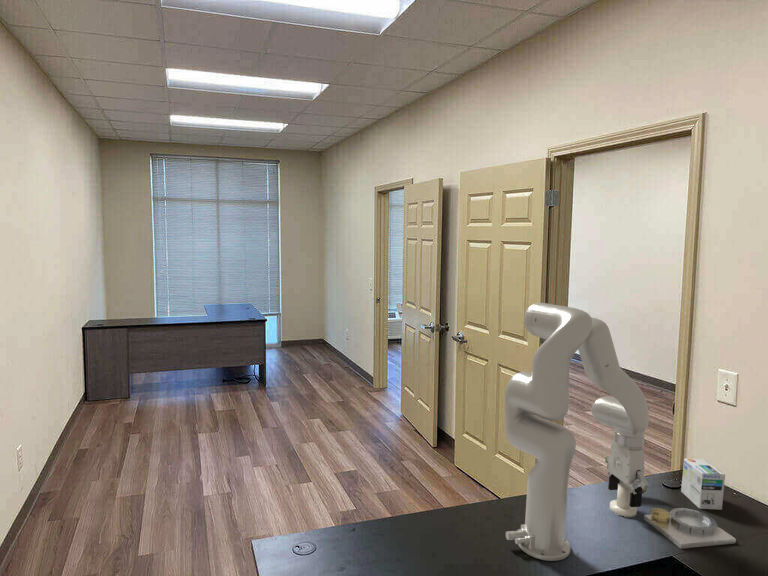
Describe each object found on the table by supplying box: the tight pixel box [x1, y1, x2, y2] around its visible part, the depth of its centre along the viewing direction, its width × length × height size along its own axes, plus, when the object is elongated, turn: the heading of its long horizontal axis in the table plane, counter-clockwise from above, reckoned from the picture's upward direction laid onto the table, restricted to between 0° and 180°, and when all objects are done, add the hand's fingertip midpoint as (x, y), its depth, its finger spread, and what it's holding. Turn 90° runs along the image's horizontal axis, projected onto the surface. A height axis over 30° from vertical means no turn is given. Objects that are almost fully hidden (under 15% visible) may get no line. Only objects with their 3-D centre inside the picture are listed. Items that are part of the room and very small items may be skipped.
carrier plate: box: [643, 507, 737, 549], centre depth 146 cm, size 16×14×3 cm
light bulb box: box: [680, 458, 726, 511], centre depth 163 cm, size 11×7×11 cm, turn 179°
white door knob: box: [609, 483, 638, 518], centre depth 156 cm, size 7×7×8 cm
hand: (624, 497), depth 156 cm, fingers open, 9 cm apart
